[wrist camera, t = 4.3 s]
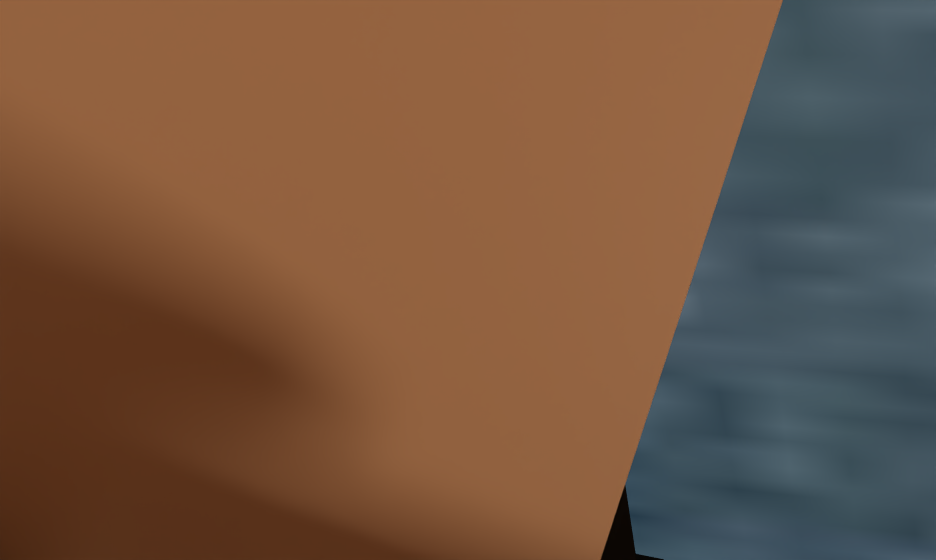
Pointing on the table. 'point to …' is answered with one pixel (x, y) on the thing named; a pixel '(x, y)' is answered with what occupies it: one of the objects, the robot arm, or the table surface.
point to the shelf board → (347, 267)
